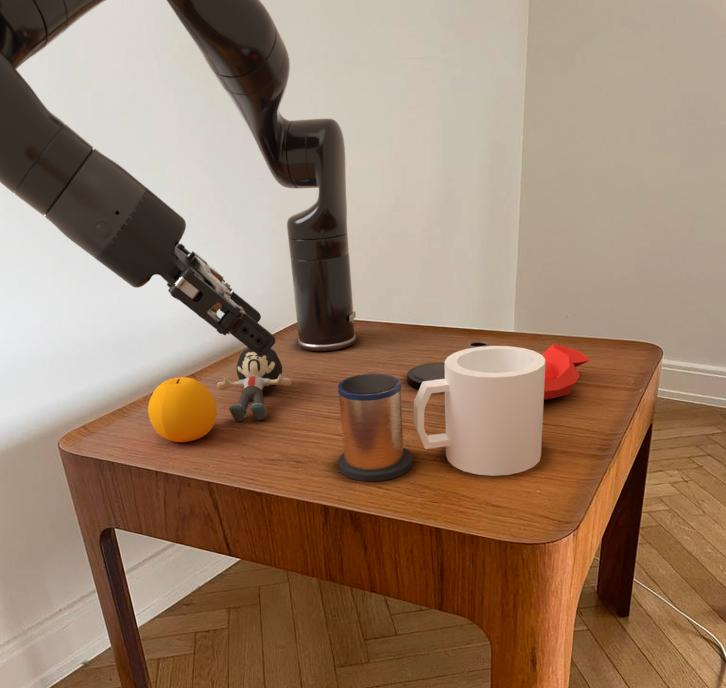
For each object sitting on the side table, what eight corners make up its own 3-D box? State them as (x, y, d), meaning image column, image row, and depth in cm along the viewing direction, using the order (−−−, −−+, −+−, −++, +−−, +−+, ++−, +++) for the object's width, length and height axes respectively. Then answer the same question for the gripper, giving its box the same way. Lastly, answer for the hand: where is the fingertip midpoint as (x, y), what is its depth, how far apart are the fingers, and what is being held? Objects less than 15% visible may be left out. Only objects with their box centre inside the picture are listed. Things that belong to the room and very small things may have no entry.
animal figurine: (601, 377, 100) (604, 340, 98) (558, 415, 90) (561, 375, 87) (521, 366, 107) (522, 331, 104) (472, 400, 96) (472, 362, 94)
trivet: (331, 456, 84) (330, 450, 83) (398, 444, 85) (398, 438, 85) (349, 487, 77) (349, 480, 76) (423, 473, 78) (422, 466, 78)
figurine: (206, 409, 93) (221, 336, 103) (217, 446, 98) (231, 373, 108) (285, 404, 92) (292, 332, 102) (292, 442, 97) (299, 369, 107)
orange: (194, 419, 97) (183, 363, 93) (233, 432, 92) (224, 374, 88) (141, 440, 91) (128, 382, 88) (180, 455, 87) (168, 394, 83)
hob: (398, 375, 106) (398, 367, 106) (457, 366, 108) (457, 357, 108) (420, 396, 99) (419, 386, 98) (483, 385, 101) (483, 376, 100)
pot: (337, 452, 83) (331, 378, 79) (393, 442, 84) (389, 369, 80) (353, 476, 77) (346, 398, 73) (412, 465, 78) (409, 388, 75)
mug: (429, 485, 76) (426, 386, 71) (407, 446, 85) (403, 355, 80) (556, 468, 77) (561, 370, 73) (521, 430, 86) (524, 341, 82)
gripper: (145, 194, 57) (302, 324, 65) (141, 176, 69) (274, 288, 77) (87, 271, 59) (248, 389, 67) (93, 240, 71) (228, 344, 79)
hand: (262, 335), depth 72 cm, fingers open, 8 cm apart
